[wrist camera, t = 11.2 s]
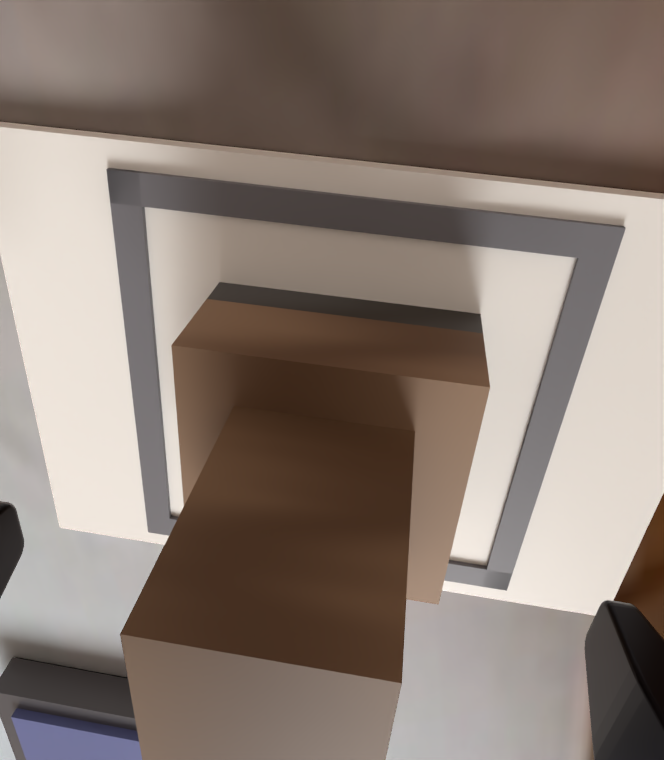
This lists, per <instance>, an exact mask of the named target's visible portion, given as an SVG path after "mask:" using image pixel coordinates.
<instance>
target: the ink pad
mask: <svg viewBox="0 0 664 760" xmlns="http://www.w3.org/2000/svg"><path fill="white" fill-rule="evenodd" d="M0 717H1V720H2V722H3V725H4V728H5V730H6V733H7V736H8V739H9V741H10V744H11V747H12V749H13V752H14V755H15V758H16V760H142V756H141V750H140V744H139V739H138V733H137V727H136V721H135V716H134V710H133V704H132V699H131V693H130V687H129V681H128V679H127V678H122V677H117V676H111V675H106V674H100V673H95V672H89V671H84V670H78V669H73V668H67V667H62V666H57V665H51V664H46V663H40V662H35V661H29V660H24V659H18V658H12V660H11V661H10V663H9V664H8V666H7V667H6V669H5V671H4V672H3V674H2V675H1V677H0Z"/></svg>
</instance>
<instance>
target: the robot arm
mask: <svg viewBox="0 0 664 760" xmlns="http://www.w3.org/2000/svg"><path fill="white" fill-rule="evenodd" d="M23 547H24V538H23V534H22V530H21V526H20V522H19V519H18V515H17V511H16V508H15V507H14V506H13V505H12V504H11V503H8V502H2V501H0V598H1V596H2V594H3V592H4V590H5V588H6V586H7V584H8V582H9V580H10V577H11V575H12V573H13V571H14V569H15V567H16V565H17V563H18V561H19V559H20V557H21V555H22V552H23ZM585 659H586V671H587V683H588V694H589V706H590V718H591V730H592V741H593V751H594V759H595V760H664V639H663V638H662V637H661V636H660V635H659V633H658V632H657V631H656V630H655V629H654V627H653V626H652V625H651V624H650V623H649V621H648V620H647V619H646V618H645V617H644V616H643V614H642V613H641V612H640V611H639V610H638V609H637V608H636V607H635V606H634V605H632V604H629V603H623V602H617V601H611V600H605V601H603V602H602V603H601V605H600V606H599V608H598V611H597V613H596V615H595V617H594V619H593V622H592V624H591V626H590V628H589V630H588V633H587V635H586V640H585Z"/></svg>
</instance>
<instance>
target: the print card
mask: <svg viewBox="0 0 664 760" xmlns="http://www.w3.org/2000/svg"><path fill="white" fill-rule="evenodd" d="M0 255H1V260H2V264H3V269H4V273H5V278H6V283H7V287H8V292H9V296H10V301H11V306H12V310H13V315H14V319H15V324H16V329H17V333H18V338H19V342H20V347H21V352H22V356H23V361H24V365H25V370H26V375H27V379H28V384H29V388H30V393H31V398H32V402H33V407H34V411H35V416H36V421H37V425H38V430H39V434H40V439H41V444H42V448H43V453H44V457H45V462H46V467H47V471H48V476H49V480H50V485H51V490H52V494H53V499H54V503H55V508H56V513H57V517H58V522H59V526H60V528H64V529H71V530H77V531H83V532H89V533H95V534H101V535H107V536H113V537H119V538H125V539H131V540H138V541H144V542H150V543H156V544H162V545H165V543H166V541H167V539H168V537H169V535H170V533H171V531H172V529H173V527H174V525H175V523H176V521H177V519H178V517H179V515H180V513H181V511H182V509H183V507H184V502H183V489H182V476H181V463H180V451H179V438H178V425H177V412H176V399H175V386H174V373H173V360H172V347H171V345H172V344H173V342H174V341H175V340H176V339H177V337H178V336H179V335H180V333H181V332H182V331H183V329H184V328H185V327H186V325H187V324H188V323H189V321H190V320H191V319H192V318H193V316H194V315H195V314H196V312H197V311H198V310H199V308H200V307H201V306H202V304H203V303H204V302H205V300H206V299H207V298H208V297H209V295H210V294H211V293H212V291H213V290H214V289H215V287H216V286H217V285H218V283H219V282H224V283H232V284H240V285H248V286H257V287H265V288H273V289H281V290H289V291H297V292H306V293H314V294H322V295H330V296H338V297H346V298H355V299H363V300H371V301H379V302H387V303H395V304H404V305H412V306H420V307H428V308H436V309H445V310H453V311H461V312H469V313H477V314H481V321H482V329H483V336H484V344H485V352H486V359H487V367H488V375H489V382H490V390H489V395H488V399H487V403H486V407H485V411H484V415H483V420H482V424H481V428H480V432H479V436H478V441H477V445H476V449H475V453H474V457H473V462H472V466H471V470H470V474H469V478H468V483H467V487H466V491H465V495H464V499H463V504H462V508H461V512H460V516H459V520H458V525H457V529H456V533H455V537H454V541H453V546H452V550H451V554H450V558H449V562H448V566H447V571H446V575H445V579H444V583H443V587H442V591H448V592H454V593H460V594H466V595H472V596H479V597H485V598H491V599H497V600H503V601H509V602H515V603H521V604H527V605H533V606H539V607H546V608H552V609H558V610H564V611H570V612H576V613H582V614H588V615H594V616H595V615H596V613H597V611H598V608H599V606H600V605H601V603H602V602H603V601H605V600H611V601H613V600H614V598H615V596H616V594H617V591H618V589H619V587H620V585H621V583H622V581H623V579H624V576H625V574H626V572H627V570H628V568H629V566H630V564H631V562H632V559H633V557H634V555H635V553H636V551H637V549H638V547H639V544H640V542H641V540H642V538H643V536H644V534H645V532H646V529H647V527H648V525H649V523H650V521H651V519H652V517H653V514H654V512H655V510H656V508H657V506H658V504H659V502H660V500H661V497H662V495H663V493H664V194H663V193H653V192H644V191H635V190H626V189H616V188H607V187H598V186H589V185H580V184H570V183H561V182H552V181H543V180H533V179H524V178H515V177H506V176H497V175H487V174H478V173H469V172H460V171H451V170H441V169H432V168H423V167H414V166H404V165H395V164H386V163H377V162H368V161H358V160H349V159H340V158H331V157H321V156H312V155H303V154H294V153H285V152H275V151H266V150H257V149H248V148H239V147H229V146H220V145H211V144H202V143H192V142H183V141H174V140H165V139H156V138H146V137H137V136H128V135H119V134H109V133H100V132H91V131H82V130H73V129H63V128H54V127H45V126H36V125H27V124H17V123H8V122H0Z"/></svg>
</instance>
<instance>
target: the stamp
mask: <svg viewBox="0 0 664 760" xmlns="http://www.w3.org/2000/svg"><path fill="white" fill-rule="evenodd" d="M171 347H172V360H173V373H174V386H175V399H176V412H177V425H178V438H179V451H180V463H181V476H182V489H183V502H184V507H183V509H182V511H181V513H180V515H179V517H178V519H177V521H176V523H175V525H174V527H173V529H172V531H171V533H170V535H169V537H168V539H167V541H166V543H165V545H164V547H163V549H162V551H161V553H160V555H159V557H158V559H157V561H156V563H155V565H154V567H153V569H152V571H151V573H150V575H149V577H148V579H147V581H146V583H145V585H144V587H143V589H142V592H141V594H140V596H139V598H138V600H137V602H136V604H135V606H134V608H133V610H132V612H131V614H130V616H129V618H128V620H127V622H126V624H125V626H124V628H123V630H122V632H121V634H120V636H121V642H122V647H123V653H124V659H125V664H126V670H127V676H128V681H129V687H130V693H131V699H132V704H133V710H134V716H135V721H136V727H137V733H138V739H139V744H140V750H141V756H142V760H385V759H386V755H387V750H388V745H389V740H390V736H391V731H392V726H393V722H394V717H395V712H396V708H397V703H398V698H399V693H400V689H401V684H402V668H403V649H404V630H405V612H406V599H408V600H414V601H420V602H426V603H433V604H439V600H440V596H441V592H442V587H443V583H444V579H445V575H446V571H447V566H448V562H449V558H450V554H451V550H452V546H453V541H454V537H455V533H456V529H457V525H458V520H459V516H460V512H461V508H462V504H463V499H464V495H465V491H466V487H467V483H468V478H469V474H470V470H471V466H472V462H473V457H474V453H475V449H476V445H477V441H478V436H479V432H480V428H481V424H482V420H483V415H484V411H485V407H486V403H487V399H488V395H489V390H490V382H489V375H488V367H487V359H486V352H485V344H484V336H483V329H482V321H481V314H477V313H469V312H461V311H453V310H445V309H436V308H428V307H420V306H412V305H404V304H395V303H387V302H379V301H371V300H363V299H355V298H346V297H338V296H330V295H322V294H314V293H306V292H297V291H289V290H281V289H273V288H265V287H257V286H248V285H240V284H232V283H224V282H219V283H218V285H217V286H216V287H215V289H214V290H213V291H212V293H211V294H210V295H209V297H208V298H207V299H206V300H205V302H204V303H203V304H202V306H201V307H200V308H199V310H198V311H197V312H196V314H195V315H194V316H193V318H192V319H191V320H190V321H189V323H188V324H187V325H186V327H185V328H184V329H183V331H182V332H181V333H180V335H179V336H178V337H177V339H176V340H175V341H174V342H173V344H172V345H171Z"/></svg>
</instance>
